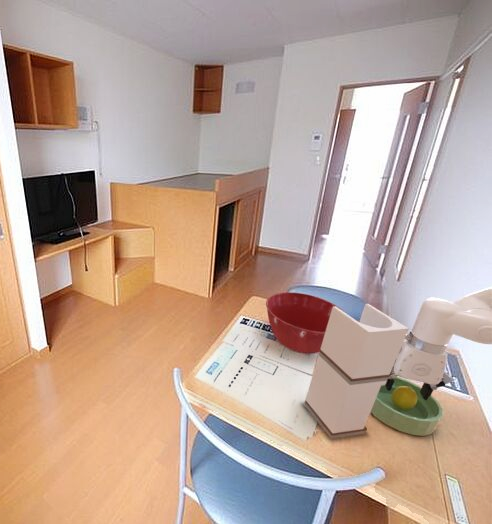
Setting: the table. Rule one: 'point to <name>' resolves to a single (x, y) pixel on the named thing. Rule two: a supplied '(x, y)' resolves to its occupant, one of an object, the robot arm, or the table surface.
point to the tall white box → (352, 369)
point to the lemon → (404, 398)
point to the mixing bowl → (299, 320)
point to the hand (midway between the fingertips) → (404, 391)
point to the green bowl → (407, 411)
